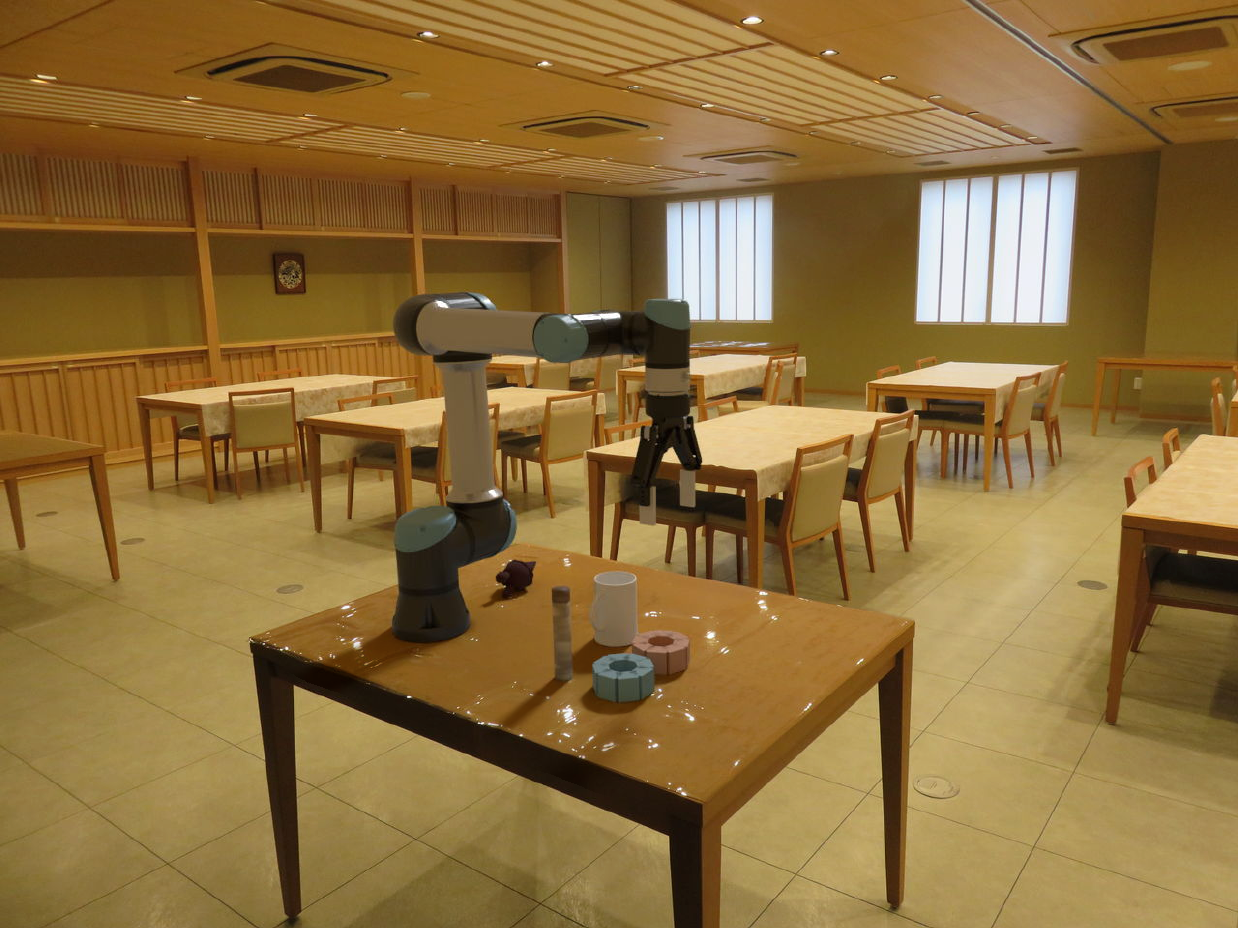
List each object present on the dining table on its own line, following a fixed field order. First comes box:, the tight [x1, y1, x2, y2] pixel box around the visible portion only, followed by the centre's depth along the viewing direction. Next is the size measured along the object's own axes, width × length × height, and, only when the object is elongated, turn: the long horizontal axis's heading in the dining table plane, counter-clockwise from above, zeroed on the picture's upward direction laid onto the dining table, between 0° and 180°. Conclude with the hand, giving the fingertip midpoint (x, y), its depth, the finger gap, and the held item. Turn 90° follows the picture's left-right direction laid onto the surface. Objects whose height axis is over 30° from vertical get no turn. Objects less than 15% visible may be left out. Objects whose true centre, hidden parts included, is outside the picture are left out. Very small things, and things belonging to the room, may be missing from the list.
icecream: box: [495, 558, 537, 600], centre depth 199 cm, size 7×7×15 cm
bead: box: [591, 652, 655, 703], centre depth 150 cm, size 10×10×4 cm
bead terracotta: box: [631, 629, 691, 676], centre depth 160 cm, size 10×10×4 cm
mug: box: [589, 570, 639, 648], centre depth 169 cm, size 12×8×12 cm
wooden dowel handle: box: [551, 585, 574, 682], centre depth 153 cm, size 3×3×16 cm
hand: (668, 514), depth 156 cm, fingers open, 13 cm apart
